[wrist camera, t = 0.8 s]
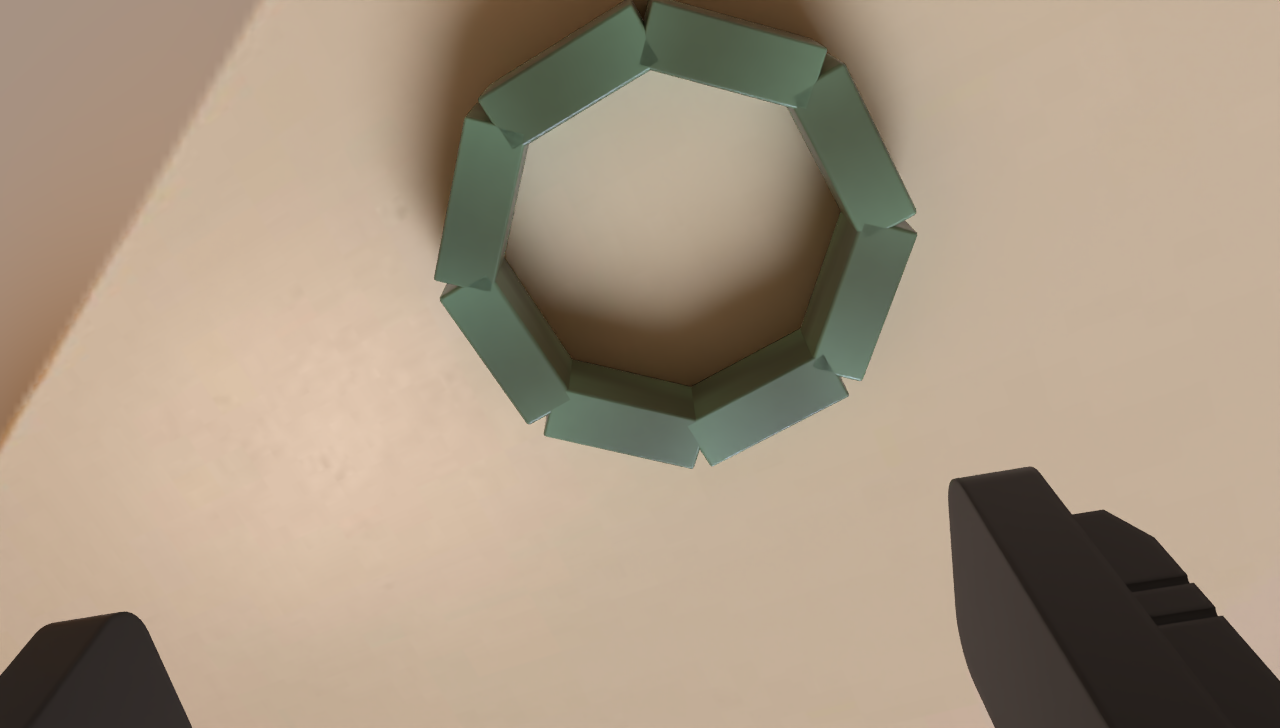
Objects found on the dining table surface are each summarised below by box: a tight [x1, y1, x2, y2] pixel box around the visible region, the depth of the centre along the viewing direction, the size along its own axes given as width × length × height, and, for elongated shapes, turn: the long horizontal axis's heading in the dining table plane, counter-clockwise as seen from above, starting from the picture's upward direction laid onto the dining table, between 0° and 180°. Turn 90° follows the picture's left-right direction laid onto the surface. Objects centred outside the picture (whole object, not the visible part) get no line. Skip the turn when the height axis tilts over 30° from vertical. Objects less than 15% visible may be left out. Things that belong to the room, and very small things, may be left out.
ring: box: [434, 0, 917, 469], centre depth 24 cm, size 11×11×2 cm
